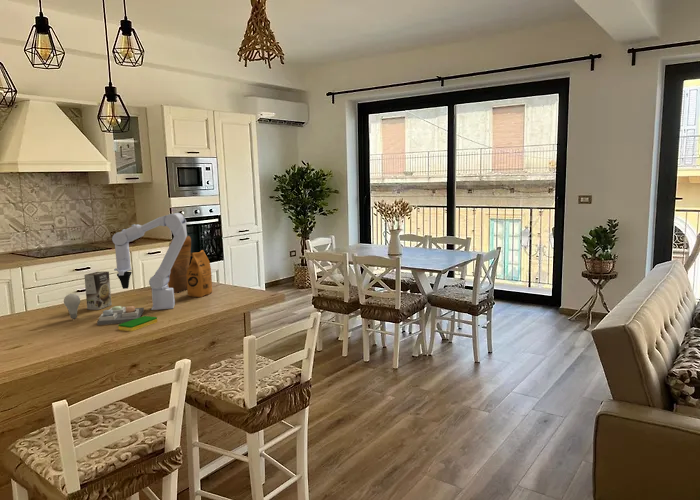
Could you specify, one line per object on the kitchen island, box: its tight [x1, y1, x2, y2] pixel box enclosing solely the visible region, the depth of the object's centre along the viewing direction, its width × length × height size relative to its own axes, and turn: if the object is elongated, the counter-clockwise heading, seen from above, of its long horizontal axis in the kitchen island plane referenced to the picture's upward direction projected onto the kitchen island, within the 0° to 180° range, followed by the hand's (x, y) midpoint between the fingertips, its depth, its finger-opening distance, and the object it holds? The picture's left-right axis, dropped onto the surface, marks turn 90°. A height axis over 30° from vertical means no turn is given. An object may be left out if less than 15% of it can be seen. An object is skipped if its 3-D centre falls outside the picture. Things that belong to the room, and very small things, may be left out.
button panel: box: [96, 306, 145, 326], centre depth 215 cm, size 15×18×3 cm
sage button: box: [111, 305, 122, 310], centre depth 218 cm, size 4×4×2 cm
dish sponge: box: [117, 315, 158, 332], centre depth 203 cm, size 7×14×2 cm, turn 157°
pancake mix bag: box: [167, 235, 192, 294], centre depth 264 cm, size 7×19×28 cm, turn 157°
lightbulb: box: [63, 293, 81, 320], centre depth 213 cm, size 6×6×11 cm
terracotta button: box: [125, 305, 136, 313], centre depth 213 cm, size 4×4×2 cm
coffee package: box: [186, 249, 213, 298], centre depth 254 cm, size 10×12×22 cm
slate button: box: [102, 309, 113, 317], centre depth 208 cm, size 4×4×2 cm
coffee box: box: [84, 271, 113, 311], centre depth 233 cm, size 9×6×16 cm
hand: (125, 288), depth 229 cm, fingers closed
